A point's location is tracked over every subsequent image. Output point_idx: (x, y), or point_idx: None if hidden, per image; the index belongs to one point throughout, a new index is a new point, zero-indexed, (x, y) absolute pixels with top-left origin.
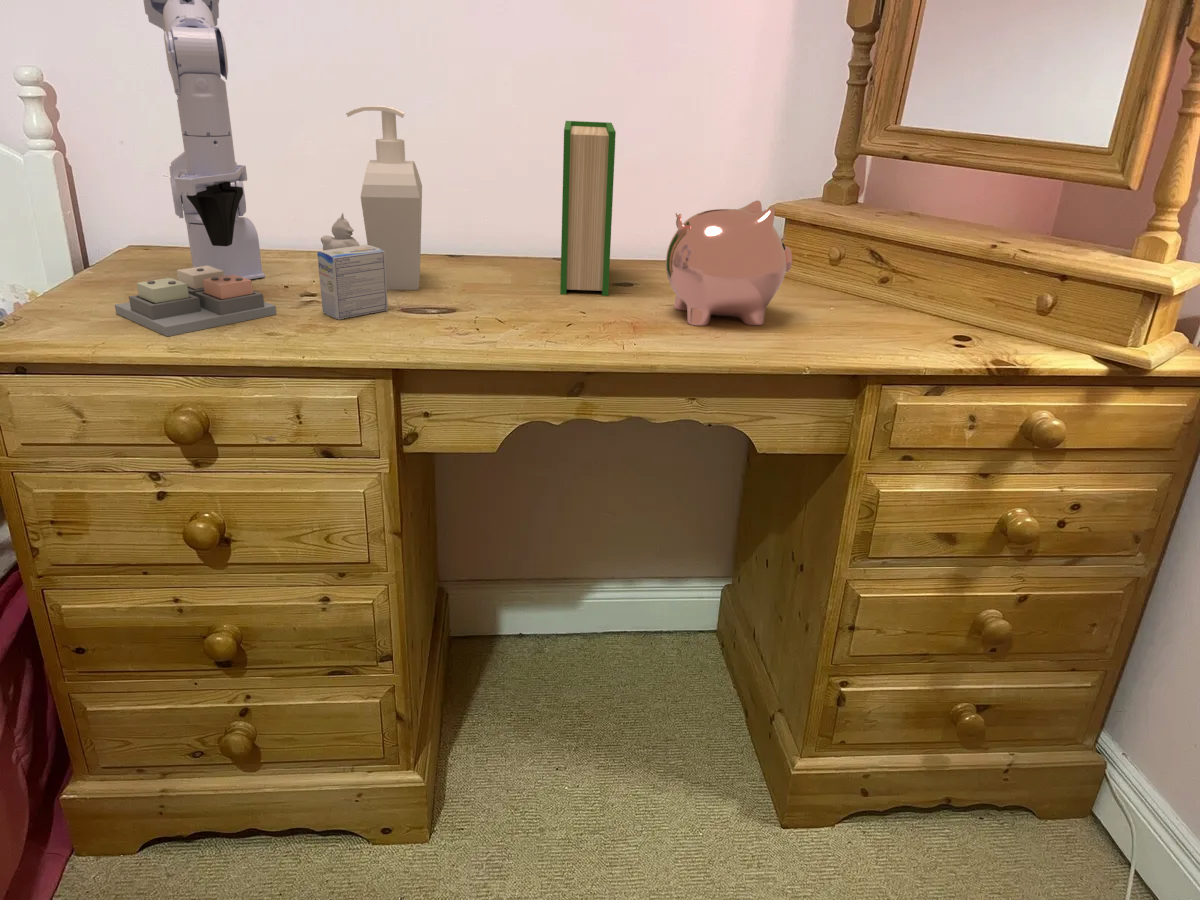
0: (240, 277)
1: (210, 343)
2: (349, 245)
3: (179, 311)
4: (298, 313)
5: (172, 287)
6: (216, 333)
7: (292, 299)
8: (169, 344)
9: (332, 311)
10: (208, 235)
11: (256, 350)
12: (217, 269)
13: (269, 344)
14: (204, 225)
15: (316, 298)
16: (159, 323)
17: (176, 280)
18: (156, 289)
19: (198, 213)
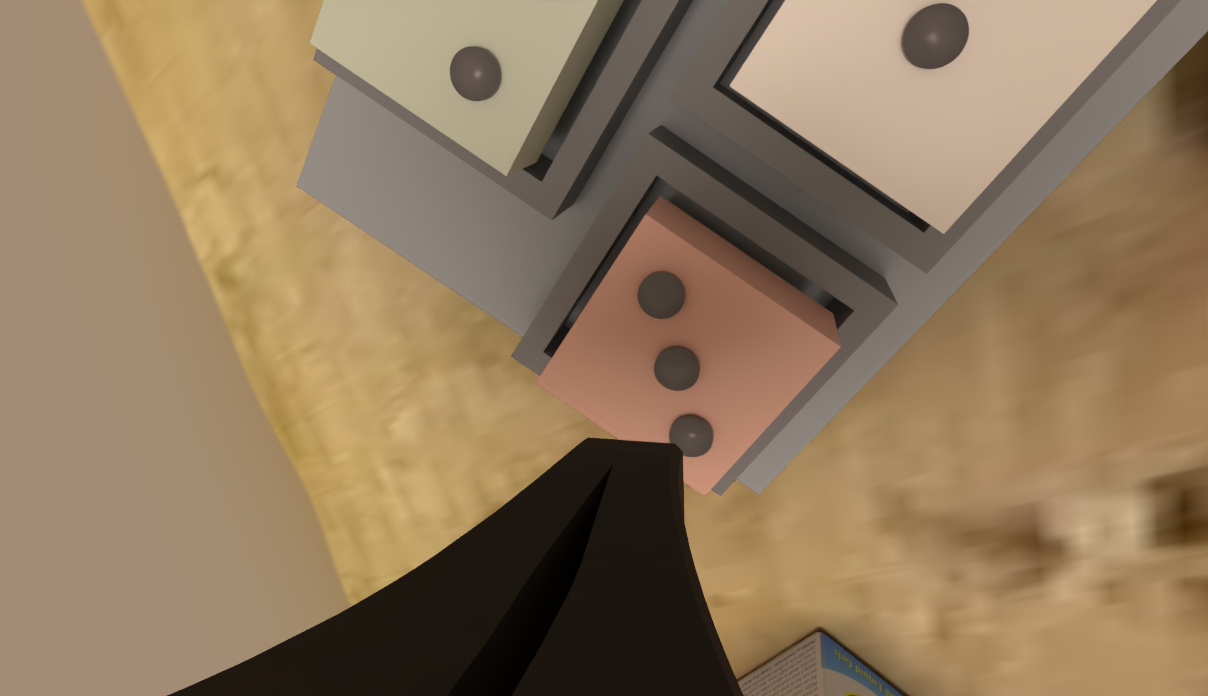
0: (759, 417)
1: (330, 374)
2: None
3: None
4: (800, 543)
5: (424, 119)
6: (436, 343)
7: (1081, 456)
8: (258, 241)
9: (752, 691)
10: (542, 474)
11: (334, 531)
12: (1001, 156)
13: (399, 548)
14: (471, 530)
15: (1112, 556)
16: (327, 124)
17: (560, 51)
18: (334, 55)
19: (336, 616)
